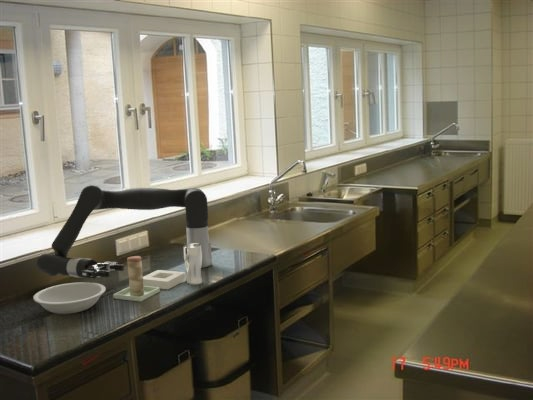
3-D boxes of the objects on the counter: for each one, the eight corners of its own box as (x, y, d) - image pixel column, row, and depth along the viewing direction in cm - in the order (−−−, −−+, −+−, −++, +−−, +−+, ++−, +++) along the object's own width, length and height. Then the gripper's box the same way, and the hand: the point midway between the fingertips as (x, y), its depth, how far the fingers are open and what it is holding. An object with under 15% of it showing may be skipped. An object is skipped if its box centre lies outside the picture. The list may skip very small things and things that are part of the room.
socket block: (158, 278, 253) (158, 269, 253) (186, 280, 248) (185, 272, 247) (139, 287, 242) (138, 278, 241) (168, 290, 236) (167, 281, 236)
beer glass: (189, 286, 240) (186, 248, 238) (183, 282, 246) (180, 244, 244) (206, 283, 243) (203, 245, 241) (199, 279, 249) (197, 242, 247)
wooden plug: (140, 291, 234) (137, 255, 232) (146, 294, 230) (143, 257, 228) (128, 294, 232) (125, 257, 229) (133, 297, 228) (130, 260, 225)
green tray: (133, 289, 239) (133, 284, 239) (160, 292, 234) (159, 287, 234) (113, 299, 228) (113, 294, 228) (140, 302, 223) (140, 297, 223)
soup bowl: (37, 327, 203) (35, 308, 202) (33, 306, 225) (31, 288, 223) (112, 314, 212) (111, 295, 211) (101, 295, 234) (99, 278, 233)
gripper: (68, 263, 233) (102, 266, 226) (93, 253, 246) (127, 256, 239) (70, 282, 234) (104, 286, 228) (95, 272, 247) (128, 275, 240)
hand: (116, 271), depth 233 cm, fingers open, 8 cm apart
